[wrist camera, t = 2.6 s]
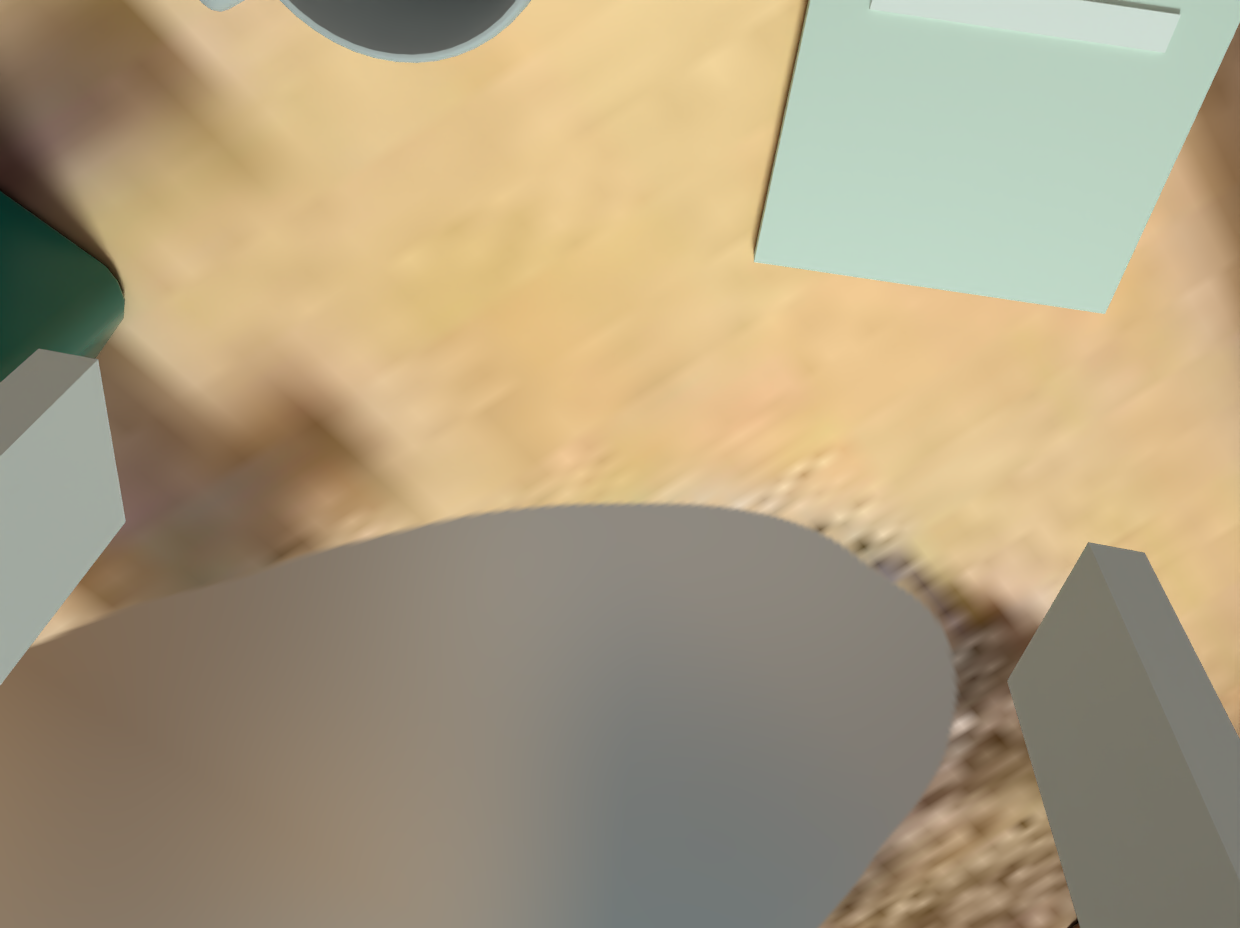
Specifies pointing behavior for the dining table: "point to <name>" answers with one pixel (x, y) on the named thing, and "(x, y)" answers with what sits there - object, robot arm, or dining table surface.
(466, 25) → the mug
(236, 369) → the dining table surface
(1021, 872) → the dining table surface
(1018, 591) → the dining table surface
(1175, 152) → the pad green
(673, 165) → the dining table surface
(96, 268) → the green bottle
